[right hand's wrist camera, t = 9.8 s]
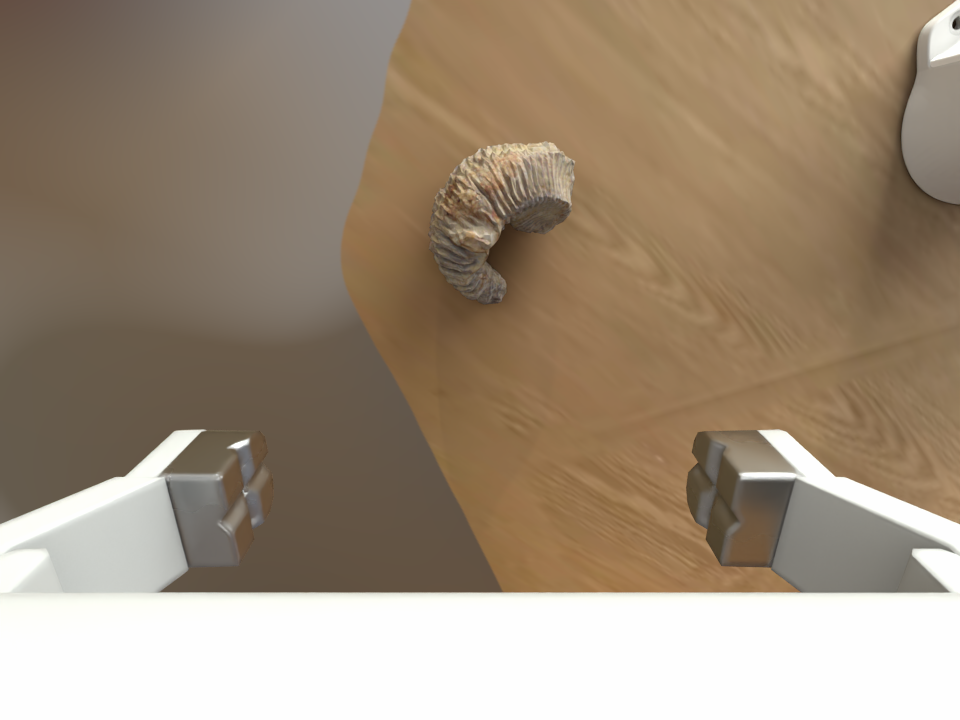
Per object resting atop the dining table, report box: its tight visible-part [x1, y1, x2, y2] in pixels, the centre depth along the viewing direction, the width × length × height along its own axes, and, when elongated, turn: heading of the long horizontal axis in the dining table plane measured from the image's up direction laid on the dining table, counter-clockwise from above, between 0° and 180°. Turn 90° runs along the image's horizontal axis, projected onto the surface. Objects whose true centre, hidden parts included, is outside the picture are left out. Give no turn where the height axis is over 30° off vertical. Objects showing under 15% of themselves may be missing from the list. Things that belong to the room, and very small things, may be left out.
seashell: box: [428, 142, 575, 304], centre depth 42 cm, size 14×10×10 cm
